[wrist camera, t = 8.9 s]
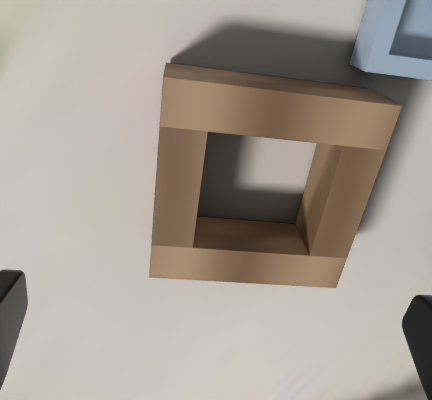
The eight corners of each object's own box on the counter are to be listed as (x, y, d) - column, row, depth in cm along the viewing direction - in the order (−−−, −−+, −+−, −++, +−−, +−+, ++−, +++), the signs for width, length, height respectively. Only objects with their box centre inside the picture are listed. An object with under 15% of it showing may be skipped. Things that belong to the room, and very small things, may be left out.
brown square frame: (372, 89, 19) (402, 106, 17) (319, 254, 24) (336, 287, 21) (165, 62, 18) (163, 77, 15) (153, 243, 23) (149, 277, 20)
